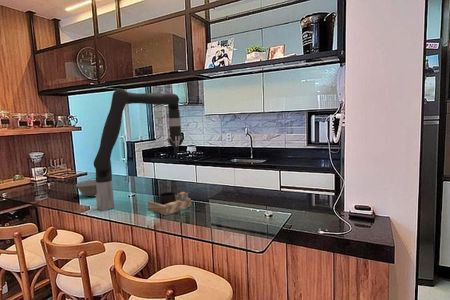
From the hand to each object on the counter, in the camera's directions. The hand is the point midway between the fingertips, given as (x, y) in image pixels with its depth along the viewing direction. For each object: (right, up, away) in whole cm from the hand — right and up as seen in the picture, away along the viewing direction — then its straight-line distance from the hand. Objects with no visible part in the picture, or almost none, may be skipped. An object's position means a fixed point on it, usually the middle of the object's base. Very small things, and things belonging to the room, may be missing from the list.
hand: (176, 152), depth 189 cm
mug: (-2, -34, -14) cm, 37 cm away
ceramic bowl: (-66, -33, +27) cm, 79 cm away
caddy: (-2, -34, -14) cm, 37 cm away
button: (+6, -28, -15) cm, 32 cm away
